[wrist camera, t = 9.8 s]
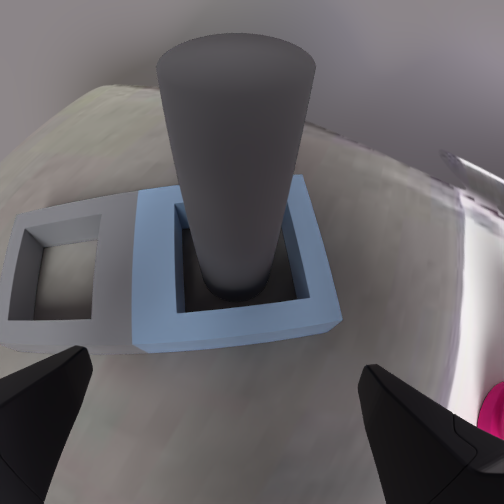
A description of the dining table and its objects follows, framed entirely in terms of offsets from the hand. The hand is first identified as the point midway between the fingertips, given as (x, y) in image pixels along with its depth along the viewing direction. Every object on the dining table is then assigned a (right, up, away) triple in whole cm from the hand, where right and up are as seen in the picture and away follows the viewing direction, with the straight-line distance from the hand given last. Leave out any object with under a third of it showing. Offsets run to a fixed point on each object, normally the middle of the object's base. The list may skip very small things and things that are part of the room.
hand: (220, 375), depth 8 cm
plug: (0, +3, +11) cm, 11 cm away
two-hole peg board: (-6, +2, +10) cm, 12 cm away
